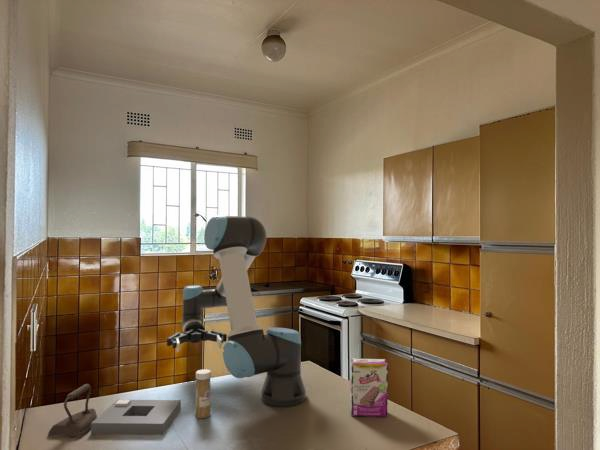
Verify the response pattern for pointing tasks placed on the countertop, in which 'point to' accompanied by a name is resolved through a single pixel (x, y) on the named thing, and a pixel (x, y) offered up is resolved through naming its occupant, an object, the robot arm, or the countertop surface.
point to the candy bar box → (369, 387)
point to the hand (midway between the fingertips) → (199, 345)
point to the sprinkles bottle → (203, 393)
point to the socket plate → (137, 417)
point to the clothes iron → (75, 418)
